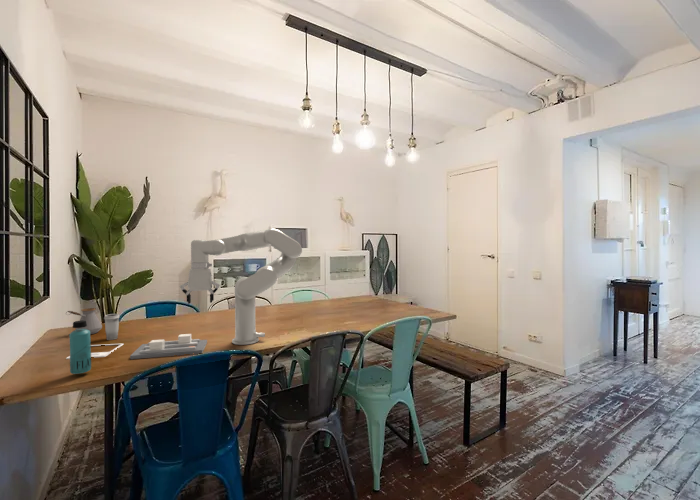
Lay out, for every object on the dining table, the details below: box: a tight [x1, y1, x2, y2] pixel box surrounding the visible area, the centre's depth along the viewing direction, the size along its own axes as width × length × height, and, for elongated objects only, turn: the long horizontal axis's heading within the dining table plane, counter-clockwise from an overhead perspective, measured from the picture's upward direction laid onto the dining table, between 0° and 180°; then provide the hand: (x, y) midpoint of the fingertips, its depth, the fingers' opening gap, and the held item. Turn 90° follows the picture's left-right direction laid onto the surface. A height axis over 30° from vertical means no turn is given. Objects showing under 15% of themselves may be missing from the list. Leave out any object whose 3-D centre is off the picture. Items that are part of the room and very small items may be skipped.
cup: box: [103, 313, 120, 341], centre depth 176 cm, size 7×7×12 cm
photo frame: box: [65, 343, 124, 360], centre depth 156 cm, size 15×1×18 cm
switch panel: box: [129, 338, 208, 360], centre depth 158 cm, size 28×17×2 cm, turn 106°
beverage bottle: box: [68, 320, 92, 375], centre depth 129 cm, size 6×7×20 cm
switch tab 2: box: [177, 333, 192, 344], centre depth 163 cm, size 5×4×4 cm
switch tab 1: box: [148, 338, 166, 350], centre depth 153 cm, size 5×4×4 cm
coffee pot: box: [65, 307, 103, 335], centre depth 182 cm, size 21×12×15 cm, turn 5°
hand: (200, 302), depth 164 cm, fingers open, 9 cm apart
